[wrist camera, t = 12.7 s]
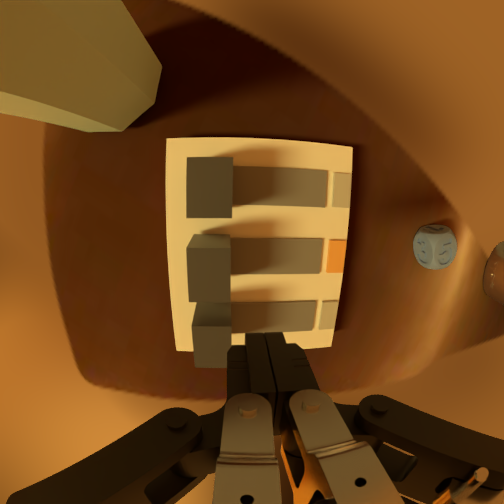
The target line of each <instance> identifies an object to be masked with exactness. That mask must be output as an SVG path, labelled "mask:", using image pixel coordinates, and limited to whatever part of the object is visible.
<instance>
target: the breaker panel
mask: <svg viewBox="0 0 504 504" xmlns="http://www.w3.org/2000/svg"><path fill="white" fill-rule="evenodd" d="M352 151H353V147H348V146H340V145H332V144H324V143H315V142H305V141H293V140H279V139H262V138H230V137H202V138H170V139H167V146H166V227H167V251H168V268H169V282H170V295H171V306H172V316H173V325H174V334H175V342H176V350H177V351H193V340H192V328H191V325H192V321H193V316H194V312H195V307H196V302H189V297H188V280H187V257H186V247H187V246H188V244H189V242H190V240H191V238H192V237H193V235H194V234H230V241H231V326H232V345H245V333H255V332H263V333H264V332H283V334H284V337H285V340H286V343H296V344H297V345H299V346H300V347H301V348H302V349H309V348H321V347H331V343H332V338H333V333H334V327H335V322H336V316H337V310H338V304H339V297H340V291H341V284H342V277H343V269H344V261H345V252H346V243H347V233H348V223H349V210H350V196H351V179H352ZM187 157H233V194H232V218H186V167H187Z"/></svg>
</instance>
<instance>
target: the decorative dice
mask: <svg viewBox="0 0 504 504" xmlns="http://www.w3.org/2000/svg"><path fill="white" fill-rule="evenodd" d="M413 249H414V254H415V257H416V259H417V261H418V262H419V263H420V264H421V265H422V266H423V267H425V268H428V269H443V268H446V267H448V266H449V265H450V264H451V263H452V261H453V260H454V258H455V255H456V252H457V241H456V238H455V235H454V233H453V232H452V230H451V229H450V228H449V227H447V226H444V225H426V226H423V227H421V228H420V229H419V230H418V231H417V233H416V235H415V238H414V242H413Z"/></svg>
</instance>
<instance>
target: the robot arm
mask: <svg viewBox="0 0 504 504" xmlns="http://www.w3.org/2000/svg"><path fill="white" fill-rule="evenodd" d="M483 285H484V291H485V293H486V294H487V295H488V296H489V297H491V298H493V299H494V300H496V301H498V302H499V303H501V304H502V305H504V242H500V243H499V244H498V245H497V246H496V247H495V248H494V250H493V251H492V253H491V255H490V257H489V259H488V262H487V265H486V268H485V273H484V280H483ZM274 435H281V439H282V446H281V454H282V457H283V461H284V464H285V468H286V471H287V474H288V477H289V481H290V484H291V487H292V490H293V495H294V504H418V503H416V502H414V501H412V500H409V499H407V498H405V497H403V496H400V495H399V493H401V494H403V495H406V496H408V497H410V498H413V499H415V500H418V501H420V502H423V503H426V504H502V502H503V499H504V440H501V439H498V438H494V437H492V436H489V435H485V434H482V433H479V432H476V431H473V430H470V429H467V428H464V427H462V426H459V425H456V424H453V423H451V422H448V421H445V420H443V419H440V418H437V417H435V416H432V415H430V414H427V413H424V412H422V411H420V410H417V409H415V408H413V407H410V406H408V405H405V404H403V403H401V402H398V401H396V400H394V399H391V398H389V397H387V396H383V395H370V396H367V397H365V398H363V399H362V401H361V402H360V403H359V405H343V404H338V403H335V402H333V401H332V399H331V398H330V397H329V396H328V395H327V394H326V393H324V392H322V391H320V389H319V386H318V384H317V382H316V379H315V377H314V374H313V372H312V369H311V367H310V364H309V362H308V360H307V357H306V355H305V352H304V350H303V349H302V348H301V347H300V346H299V345H297V344H296V343H286V340H285V337H284V334H283V332H264V333H263V332H255V333H245V345H232V346H231V347H230V349H229V350H228V352H227V400H226V403H225V404H224V406H223V407H222V408H220V409H219V410H217V411H216V412H213V413H210V414H206V415H201V416H198V415H197V414H196V413H194V412H193V411H191V410H189V409H185V408H179V407H178V408H170V409H166V410H163V411H162V412H160V413H159V414H157V415H156V416H154V417H153V418H151V419H149V420H148V421H147V422H145V423H143V424H142V425H140V426H139V427H137V428H135V429H134V430H133V431H131V432H129V433H128V434H126V435H124V436H123V437H121V438H119V439H118V440H116V441H115V442H113V443H111V444H109V445H108V446H106V447H104V448H102V449H101V450H99V451H97V452H95V453H94V454H92V455H90V456H88V457H86V458H85V459H83V460H81V461H79V462H78V463H75V464H74V465H72V466H70V467H68V468H66V469H64V470H62V471H60V472H58V473H56V474H54V475H52V476H50V477H48V478H46V479H44V480H42V481H40V482H37V483H35V484H33V485H31V486H29V487H26V488H24V489H22V490H19V491H17V492H15V493H13V494H12V495H10V497H9V498H8V500H7V502H6V504H175V503H176V502H177V501H178V500H180V499H181V498H182V497H183V496H185V495H186V494H187V493H188V492H190V491H191V490H192V489H193V488H194V487H195V486H197V485H198V484H199V483H200V482H201V481H202V480H203V479H205V477H206V476H207V475H208V474H211V473H215V482H214V491H213V501H212V504H282V502H281V489H280V476H279V464H278V459H277V458H275V450H274ZM383 442H386V443H389V444H391V445H393V446H395V447H397V448H400V449H402V450H404V451H407V452H409V453H411V454H413V455H415V456H410V455H407V454H404V453H402V452H400V451H398V450H396V449H393V448H391V447H389V446H387V445H385V444H383ZM398 492H399V493H398Z"/></svg>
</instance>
